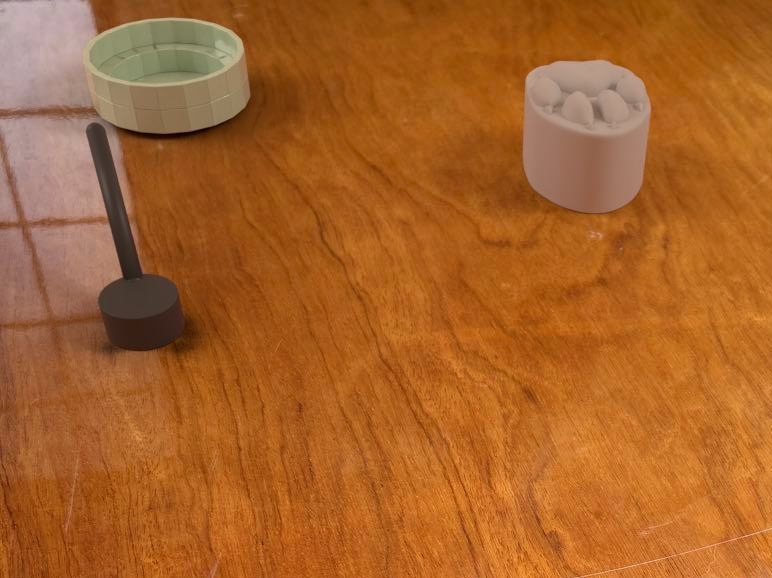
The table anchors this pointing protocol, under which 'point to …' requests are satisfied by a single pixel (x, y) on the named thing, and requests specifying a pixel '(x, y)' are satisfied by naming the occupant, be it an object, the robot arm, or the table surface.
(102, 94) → the bowl
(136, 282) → the ladle
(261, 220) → the table surface
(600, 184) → the lumpy-topped squat cylinder
